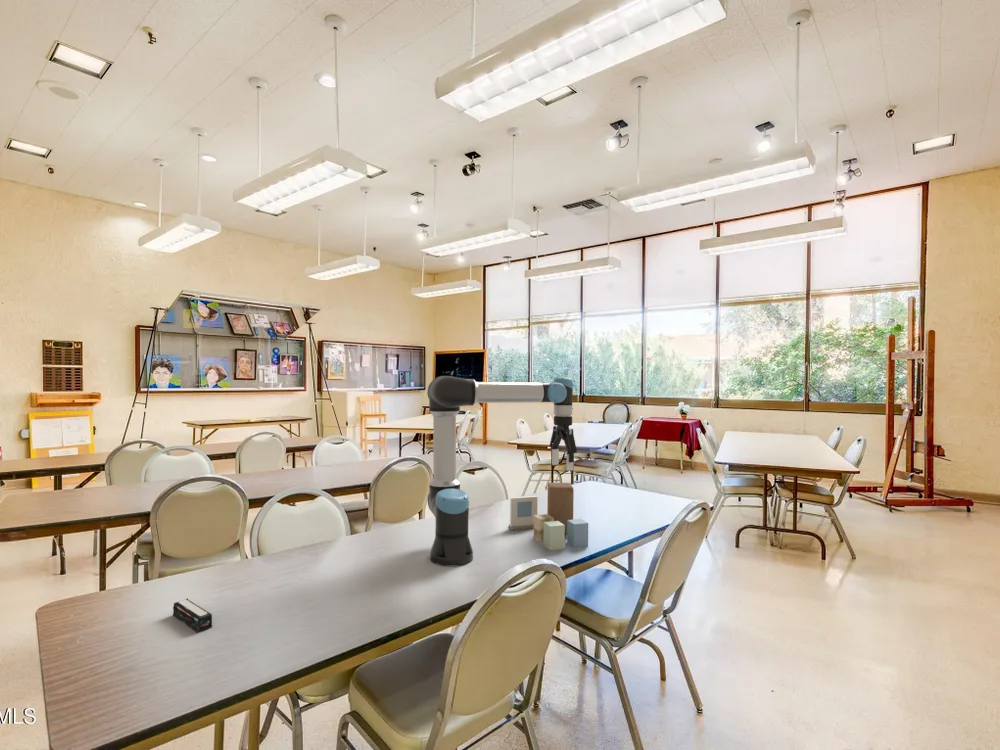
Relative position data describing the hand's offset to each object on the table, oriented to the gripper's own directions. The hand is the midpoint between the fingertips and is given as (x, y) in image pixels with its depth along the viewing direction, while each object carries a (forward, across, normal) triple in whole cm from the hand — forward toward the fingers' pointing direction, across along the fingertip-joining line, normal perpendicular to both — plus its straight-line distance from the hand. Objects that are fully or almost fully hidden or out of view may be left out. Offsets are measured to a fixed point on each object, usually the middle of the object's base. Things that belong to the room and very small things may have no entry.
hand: (562, 467), depth 205 cm
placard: (+28, +16, +10) cm, 34 cm away
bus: (+29, -39, +123) cm, 132 cm away
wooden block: (+28, +5, -2) cm, 29 cm away
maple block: (+28, -1, +8) cm, 29 cm away
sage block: (+28, -11, +9) cm, 31 cm away
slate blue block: (+28, -12, -1) cm, 30 cm away
